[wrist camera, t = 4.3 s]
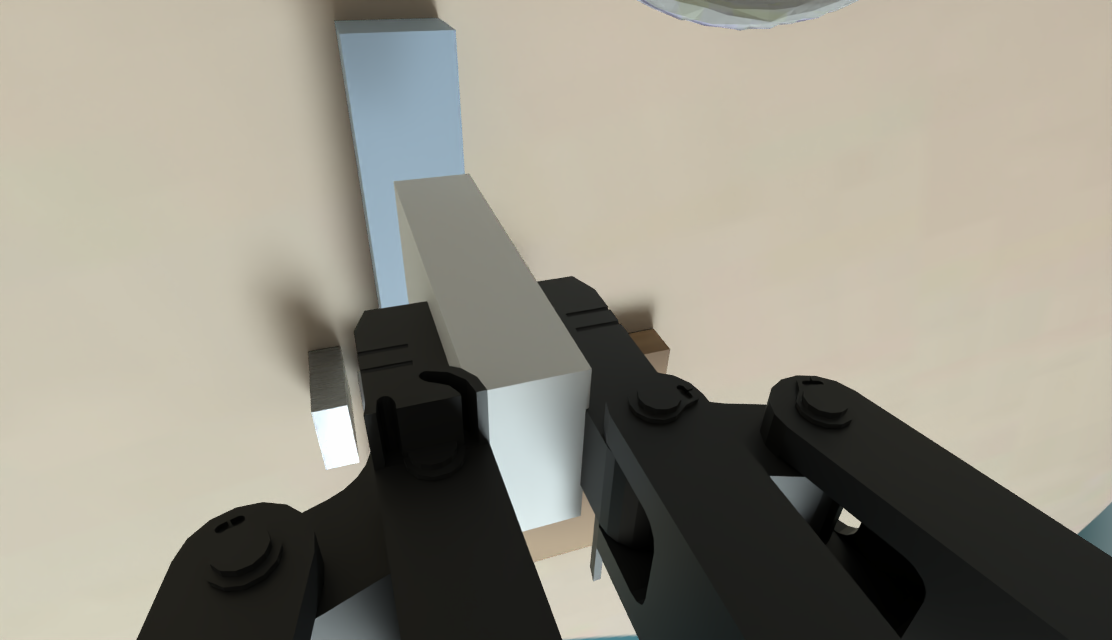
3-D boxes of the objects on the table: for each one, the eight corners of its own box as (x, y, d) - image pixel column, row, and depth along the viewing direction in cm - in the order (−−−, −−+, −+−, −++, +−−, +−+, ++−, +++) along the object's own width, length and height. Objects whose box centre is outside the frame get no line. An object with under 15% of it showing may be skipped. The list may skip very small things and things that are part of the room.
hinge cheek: (308, 351, 21) (311, 412, 18) (340, 346, 21) (347, 405, 19) (321, 406, 22) (325, 469, 20) (351, 401, 22) (359, 462, 20)
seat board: (369, 382, 22) (373, 408, 21) (653, 328, 25) (670, 349, 24) (403, 570, 28) (407, 598, 27) (627, 509, 31) (639, 531, 30)
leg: (490, 366, 23) (509, 410, 21) (361, 390, 22) (368, 440, 20) (472, 14, 17) (497, 28, 15) (291, 19, 16) (291, 35, 14)
